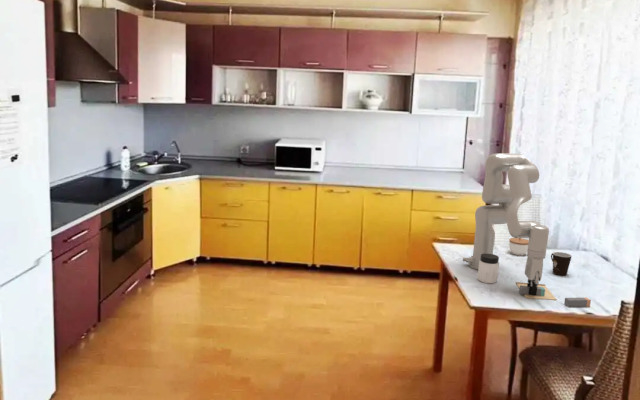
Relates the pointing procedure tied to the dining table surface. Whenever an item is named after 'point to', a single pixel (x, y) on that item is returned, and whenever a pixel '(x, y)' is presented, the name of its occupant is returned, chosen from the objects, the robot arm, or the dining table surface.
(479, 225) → the robot arm
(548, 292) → the notepad
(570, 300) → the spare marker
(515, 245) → the lidded jar
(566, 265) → the coffee mug
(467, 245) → the dining table surface
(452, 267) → the dining table surface
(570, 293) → the dining table surface
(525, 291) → the marker
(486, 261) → the jar
